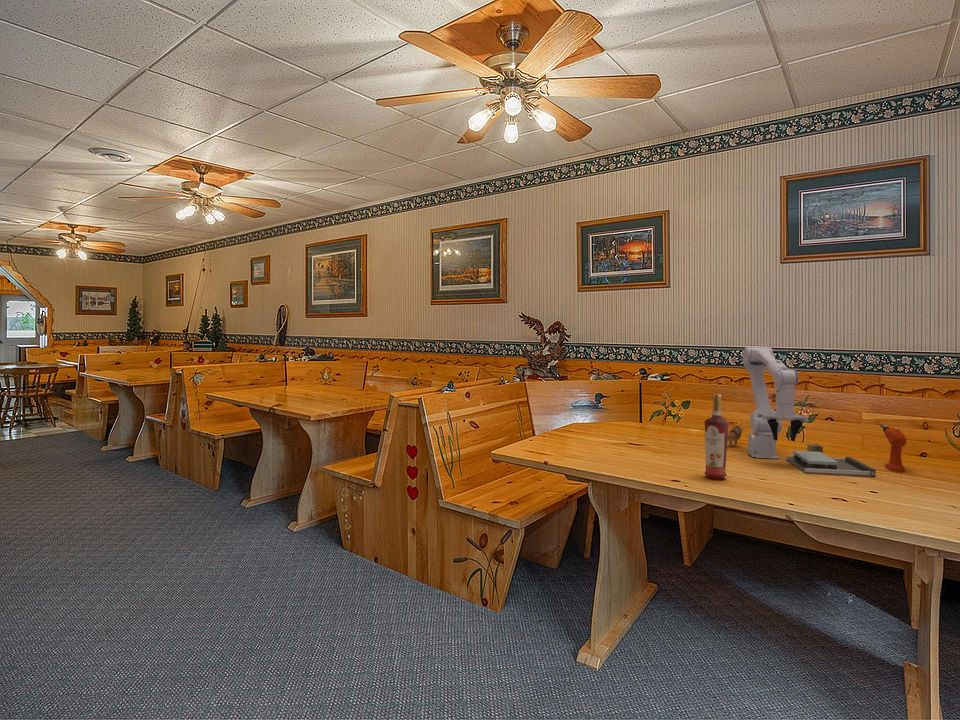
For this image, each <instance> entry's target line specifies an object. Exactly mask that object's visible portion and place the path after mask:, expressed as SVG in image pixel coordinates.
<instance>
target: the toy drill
mask: <svg viewBox="0 0 960 720" xmlns="http://www.w3.org/2000/svg"><path fill="white" fill-rule="evenodd" d="M879 426H880V427H881V428H882V432H883V433H884V435H885V437H886V439H887V441H888V443H890V445H891V446H890V452H889V453H890V454H889V461H888V462H887V463H885V464H884V468H885V467H886V468H887V469H886V468H885V469H886V470H888V469H889V470H888V471H890V470H891V472H894V471H896V472H897V473H905V472H904V471H906V468H905V466H904V465H903V462H902V460H903V459H902V451H903V448H904V447H905V446H906V444H907V436H906V435H905V434H904V433H903V432H902V431H901V430H900V429H897V428H895V427H890V426H885V425H884V424H880V425H879ZM896 472H895V473H896Z"/></svg>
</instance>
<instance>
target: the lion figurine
mask: <svg viewBox="0 0 960 720" xmlns="http://www.w3.org/2000/svg"><path fill="white" fill-rule="evenodd" d="M742 434H743V430H742V427H741V426H740V425H738V424H737V425H734V426H732V427H731V430H730V431H728V440H727V442H729V445H728V447H734V448H736V447H738V441H739V439H741V437H742ZM733 443H734V445H733Z"/></svg>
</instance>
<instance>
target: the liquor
mask: <svg viewBox="0 0 960 720" xmlns="http://www.w3.org/2000/svg"><path fill="white" fill-rule="evenodd" d="M721 403H722V394H721V393H712V413H711V417H708V418H707V419H706V420H704V443H705V444H704V445H705V471H704V472H703V473H704V474H705V476H707V478H708V479H710V480H711V479H712V480H723V479H724V478H726V476H728V475H727V473H726V468H727V466H726V465H727V449H728V441H727V440H728V432H729V425H730V423H729V421H728V420H727V419H725V418H722V417H723V416H722V405H721Z"/></svg>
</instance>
